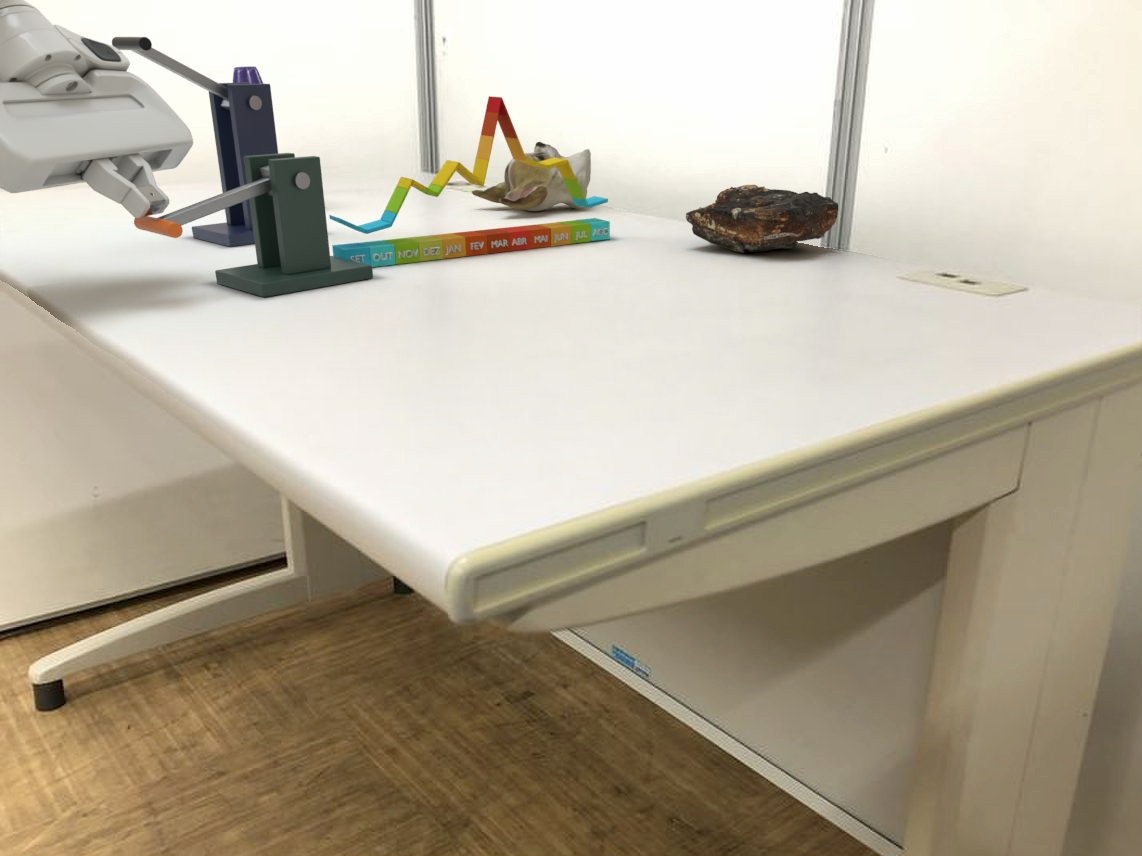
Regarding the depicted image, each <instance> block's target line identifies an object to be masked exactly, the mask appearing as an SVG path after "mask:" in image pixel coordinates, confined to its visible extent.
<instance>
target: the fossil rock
mask: <svg viewBox="0 0 1142 856" xmlns="http://www.w3.org/2000/svg"><path fill="white" fill-rule="evenodd" d="M838 214H839V203H838V202H836V201H834V200H833V198H831V197H830V196H823V195H821V194H819V193H818V192H814V191H813V192H809V191H803V192H800V193H798V192H796V191H792V190H789V189H788V190H787V189H775V188H773V189H771V188H766V187H765V185H764V186H758V185H756V184H744V185H740V186H737V187H736V186H735V187H733V186H730V187H729V188H726V189H724V190H722V191H720V192H719V193H718V194H717V196H716V199H715V200H714V202H712V204H711V203H710V204H708V205H707V206H704V207H701V206H700V207H699V208H697V209H693V210H690V211H688V212H686V213H685V219H686V222H688V223H689V224H690V225H691V230H692V234H693V235H694V236H697V237H698V238H700V239H702V240H704V241H705V242H708V243H709V244H712V245H715V246H718V247H721V248H725V249H728V250H730V251H734V252H736V253H743V254H744V253H745V252H746V250H747V251H748V253H756V252H764V251H765V252H767V251H771V250H779V249H794V248H795V247H796V246H797V243H798V242H805V241H811V240H819V239H822V238H823V237H825V234H826V233H827V232H829V231H830V230H831V229H832V227H833V226H834V225H835V224H836V222H837V219H838Z"/></svg>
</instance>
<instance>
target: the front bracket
mask: <svg viewBox="0 0 1142 856" xmlns="http://www.w3.org/2000/svg"><path fill="white" fill-rule="evenodd" d="M244 164H245V171H246V179H247V184H248V183H251V182H254V181H256V180H259V179H262V178H263V177H262V174H261V172H260V168H262V167H265V166H267V165H269V171H270V179H271V188H272V196H271V195H268V192H267V193H264V194H262V195H259V196H257V197H254V198H251V199H249V202H250V210H251V217H252V225H253V233H254V240H255V243H254V247H255V248H254V249H255V255H256V262H257V263H255V264H248V265H241V266H235V267H234V266H233V267H228V268H222V269H216V270H215V271H214V273H215V281H216V284H218V285H221V286H225V287H228V288H231V289H235V290H238V291H242V292H245V293H248V294H252V295H255V296H259V297H262V298H267V297H268V298H269V297H274V296H279V295H285V294H292V293H296V292H302V291H303V292H304V291H308V290H314V289H320V288H325V287H330V286H336V285H342V284H347V283H354V282H359V281H364V280H370V279H373V278H374V273H373V271H374V270H373V267H372V265H368V264H364V263H360V262H355V261H351V260H347V259H342V258H338V257H333V255H331V253H330V243H329V235H328V223H327V214H326V203H325V194H324V186H323V175H322V167H321V165H322V164H321V157H320V156H317V155H309V156H297V157H296V156H295V153H293V152H281V153H280V152H278V154H265V155H251V156H244Z"/></svg>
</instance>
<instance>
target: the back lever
mask: <svg viewBox="0 0 1142 856" xmlns="http://www.w3.org/2000/svg"><path fill="white" fill-rule="evenodd" d="M111 45H112V46H114V47H116V48H117V49H119V50H120V51H131V52H134V53H135V54H137V55H139V56H140V57H142V58H144V59H146V60H148V61H150V62H153V63H154V64H156V65H158V66H160V67H162V68H164V69H165V70H167V71H169V72H171V73H173V74H175V75H177V76H179V77H181V78H182V79H185V80H186V81H188V82H191V83H193V84H194V85H196V86H198V87H200V88H202V89H203V90H206V91H207V92H208V93H209V92H211V93H213V94H215V95H217V96H219V97H221V98H223V101H222V104H221V106H222V107H224V108H226V109H227V110H229V111H230V106H229V98H228V91H227V88H226V87H224V86H223V85H221V84H219V83H220V82H217V81H215V80H213V79H212V78H210V77H207V76H206V75H204V74H202V73H201V72H198V71H196V70H195V69H193V68H192V67H189V66H187V65H186V64H183V63H182V62H180V61H178V60H176V59H174V58H172V57H170V56H169V55H167V54H165V53H163V52H161V51H159V50H158V49H156V48H154V47H152V46H153V44H152V41H151V39H149V38H148V37H147V36H114V37H112V39H111Z"/></svg>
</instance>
